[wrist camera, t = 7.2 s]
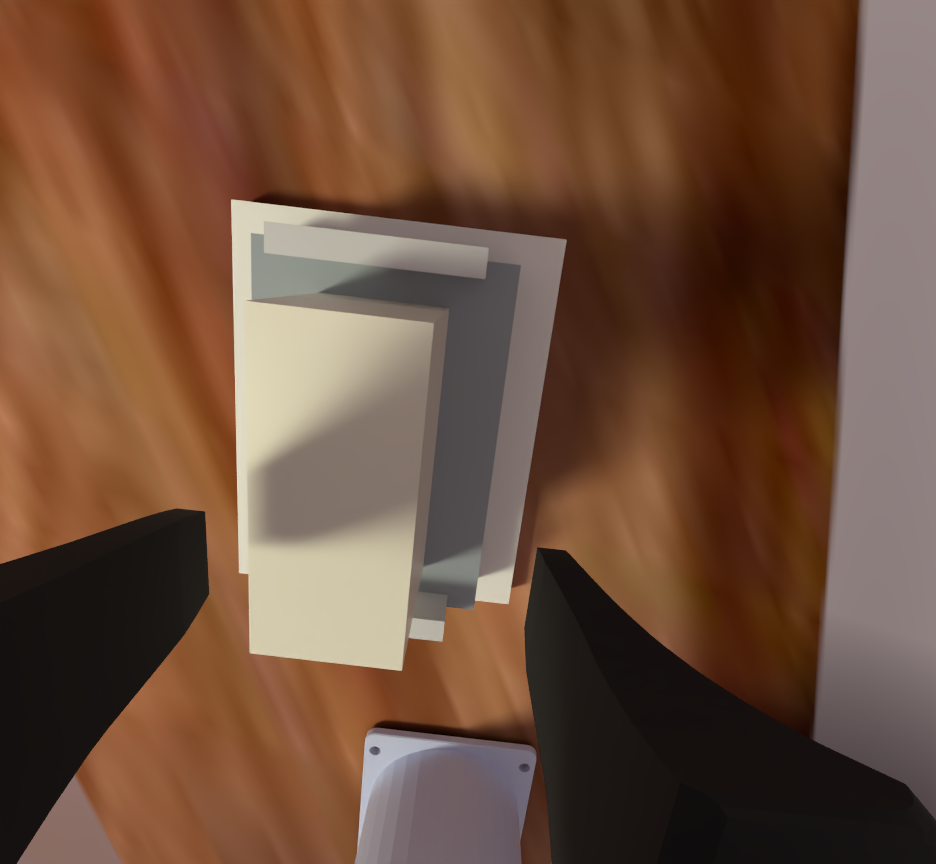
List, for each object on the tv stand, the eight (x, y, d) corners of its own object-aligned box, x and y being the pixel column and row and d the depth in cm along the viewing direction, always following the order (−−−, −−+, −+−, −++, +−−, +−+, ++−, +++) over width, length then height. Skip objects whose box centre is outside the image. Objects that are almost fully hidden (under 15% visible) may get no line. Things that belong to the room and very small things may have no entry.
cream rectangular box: (423, 566, 18) (401, 670, 13) (311, 553, 18) (249, 653, 13) (449, 307, 16) (434, 323, 11) (318, 292, 16) (244, 300, 11)
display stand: (507, 589, 22) (513, 667, 18) (249, 559, 22) (192, 630, 18) (562, 241, 18) (587, 231, 13) (244, 203, 18) (168, 180, 13)
